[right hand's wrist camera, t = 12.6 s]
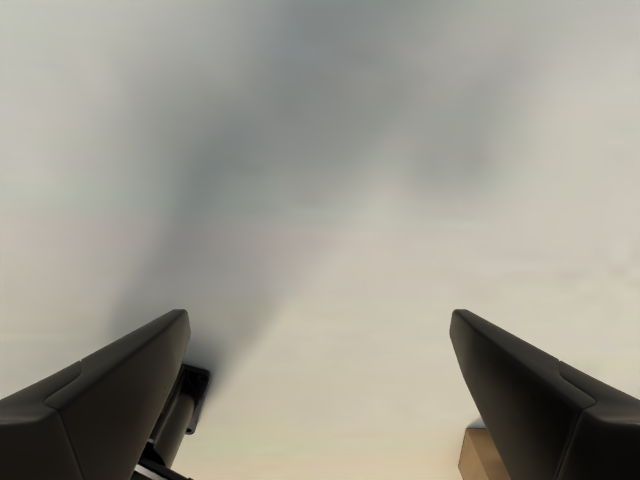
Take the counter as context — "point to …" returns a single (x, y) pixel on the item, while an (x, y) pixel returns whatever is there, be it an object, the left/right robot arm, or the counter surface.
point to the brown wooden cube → (480, 457)
